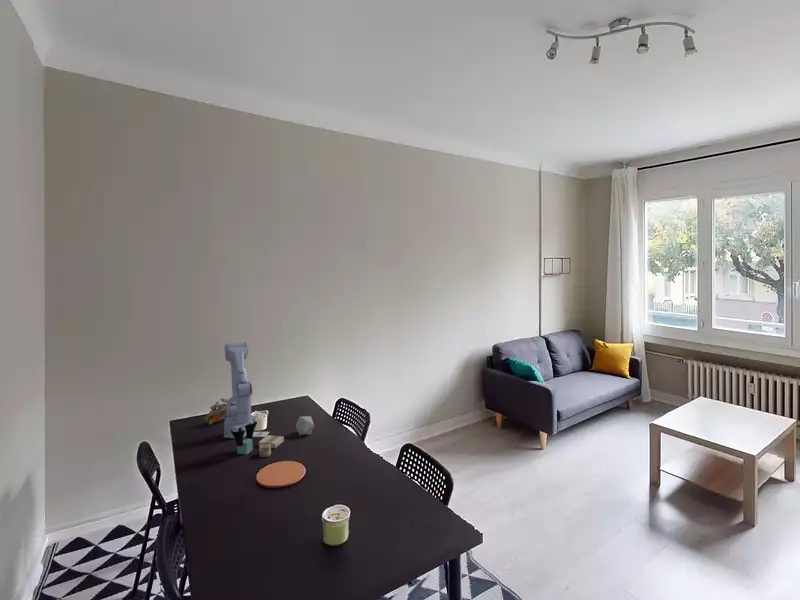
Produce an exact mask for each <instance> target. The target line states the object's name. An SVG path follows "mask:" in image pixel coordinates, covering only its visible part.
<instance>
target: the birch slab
mask: <svg viewBox="0 0 800 600" xmlns="http://www.w3.org/2000/svg"><path fill="white" fill-rule="evenodd" d="M284 441H285V437H284V436H281V435H269V434H268V435H267V436H266V437H262V439H260V440H259V441H258V447H259V448H260V445H261V444H270V443H271V449H277V448H278V446H281V444H282V443H283V442H284Z"/></svg>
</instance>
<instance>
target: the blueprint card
mask: <svg viewBox="0 0 800 600" xmlns="http://www.w3.org/2000/svg"><path fill="white" fill-rule="evenodd" d="M269 434H270V431H254V433H253V437H252V438H265V437H266V436H267V435H269Z"/></svg>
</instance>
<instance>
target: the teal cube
mask: <svg viewBox="0 0 800 600" xmlns="http://www.w3.org/2000/svg"><path fill="white" fill-rule="evenodd" d="M253 448H254V446H253V438H252V439H247V437H243V445H242V446H237V445H236V454H237V455H239V454H240V455H248V454H250V453H251V452H252V451H254V449H253Z"/></svg>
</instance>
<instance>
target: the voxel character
mask: <svg viewBox="0 0 800 600" xmlns="http://www.w3.org/2000/svg"><path fill="white" fill-rule="evenodd" d="M228 400H229V399H227V398H226V399H224V398H220V401H221V402H222V403H221V404H220V403H219V401H216V402H215V403H214V404H213V405H212V406H210V407H209V408H210V411H209V413H208V414H206V416H204V417H203V419H204V422H206V424H208V426H211V425H212V424H213V423H218V421H219V422H221V421H222V420H225V419H226V418H227V412H226V406H227V401H228ZM231 404H233V403H231Z"/></svg>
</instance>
